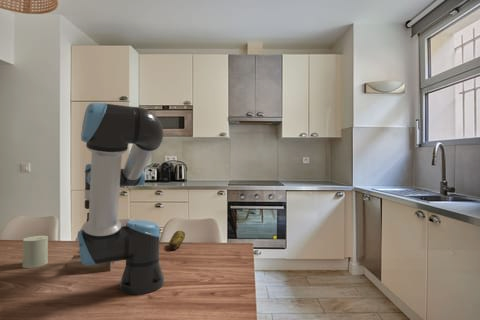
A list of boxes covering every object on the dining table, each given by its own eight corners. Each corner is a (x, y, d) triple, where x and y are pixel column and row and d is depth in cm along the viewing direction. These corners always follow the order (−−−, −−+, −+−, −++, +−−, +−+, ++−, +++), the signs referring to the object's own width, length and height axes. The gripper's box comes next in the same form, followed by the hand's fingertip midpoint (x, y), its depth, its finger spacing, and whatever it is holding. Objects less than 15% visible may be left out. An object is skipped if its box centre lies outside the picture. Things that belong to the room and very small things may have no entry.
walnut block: (110, 272, 118) (110, 260, 118) (66, 275, 114) (67, 263, 114) (116, 259, 133) (116, 248, 133) (78, 262, 129) (78, 251, 129)
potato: (162, 249, 148) (162, 233, 148) (177, 243, 159) (178, 229, 160) (174, 251, 144) (174, 235, 144) (189, 245, 156) (190, 230, 156)
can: (34, 269, 119) (35, 240, 119) (16, 267, 121) (17, 239, 121) (53, 261, 128) (53, 235, 128) (36, 260, 130) (36, 233, 130)
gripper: (97, 202, 113) (96, 256, 112) (109, 195, 137) (108, 239, 137) (76, 203, 111) (75, 257, 111) (92, 196, 135) (91, 240, 135)
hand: (93, 248), depth 124 cm, fingers open, 13 cm apart
